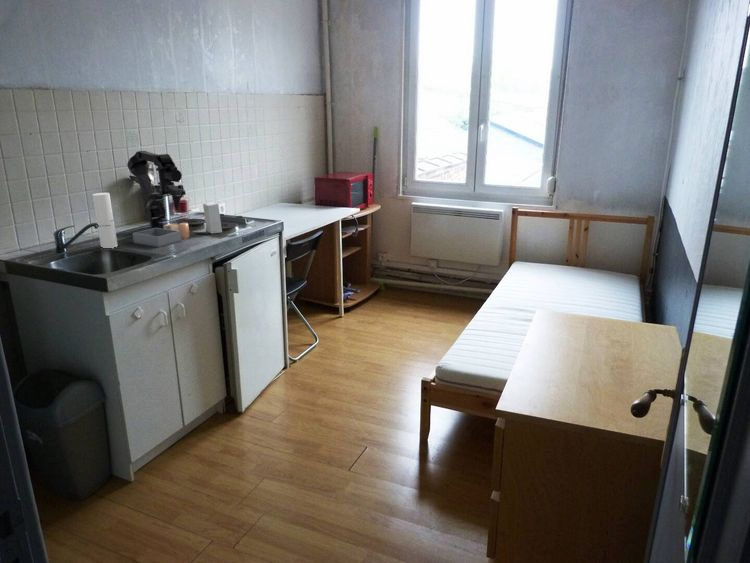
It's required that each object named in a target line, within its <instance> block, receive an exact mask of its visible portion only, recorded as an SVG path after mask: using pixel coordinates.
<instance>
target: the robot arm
mask: <svg viewBox="0 0 750 563" xmlns="http://www.w3.org/2000/svg"><path fill="white" fill-rule="evenodd" d="M148 163H153V165H154V166H155V167H156V168H155V170H156V171H157V172H158V179H159V182H157V184H158V185H159V187H160V188H159V189H160V190H159V191H158V192H155V191H154V190H153V188H152V185H151V182H150V180H149V178H148V176H147V169H148V168H147V165H148ZM126 165H127V168H128V170H129V172H130V174H132V175H133V176H134V177H135V178H136V179H137V181H138V182H137V183H138V184H139V187H140V189H141V191H142V193H143V196H144V198H145V201H146V208H145V209H146V212H145V215H144V218H145V221H148V222H149V223H148V224H149V229H152V228H162V229H164V224H163V223H164V222H163V220H164V219H166V207H165V205H164V204H163V202H164V199H163V198H165V197H170V196H171V198H172V202H173V204H174V205H173V206H174V208H175V210H176V211H177V210H179V206H180V202H181V199H182V198H183V197H185V195H186V190H185V189H184V185H182V184H178V185H175V182H180V181H181V179H182V177H183V176H182V175H183V174H182V172H181V171H180V170H179V169H178V166H176V163H175V162H174V160H173V159H172V157H171V156H170V154H169V153H161V154H158V153H153V152H150V151H147V150H138V151H136V152H135V154H133V155H132V156H131V157H130V158H129V160H128V162H127V163H126Z"/></svg>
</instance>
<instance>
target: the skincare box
mask: <svg viewBox="0 0 750 563" xmlns="http://www.w3.org/2000/svg"><path fill="white" fill-rule="evenodd" d="M202 207H203V212H204V213H203V214H204V220H205V221H204V222H205V228H206V232H207V233H209V234H218V233H219V234H220V233H222V232H223V229H222V223H221V222H222V221H221V215H220V207H219V203H216V202H214V201H212V202H207V203H203V204H202Z"/></svg>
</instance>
